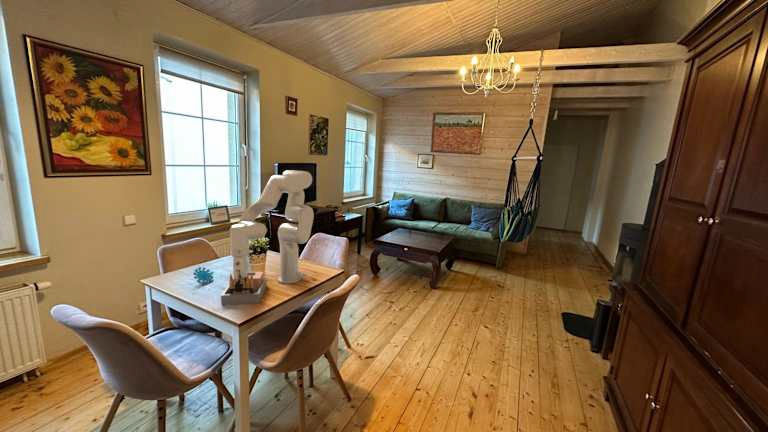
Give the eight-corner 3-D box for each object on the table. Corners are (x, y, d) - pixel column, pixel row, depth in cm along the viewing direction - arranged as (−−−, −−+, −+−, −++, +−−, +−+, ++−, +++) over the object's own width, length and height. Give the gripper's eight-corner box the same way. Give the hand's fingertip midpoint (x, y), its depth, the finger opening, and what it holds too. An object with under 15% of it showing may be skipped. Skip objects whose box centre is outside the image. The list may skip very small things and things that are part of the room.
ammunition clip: (229, 299, 140) (227, 274, 138) (230, 297, 142) (229, 272, 139) (254, 298, 142) (253, 274, 140) (255, 296, 144) (254, 272, 141)
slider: (260, 289, 151) (259, 276, 149) (231, 290, 148) (230, 277, 147) (263, 282, 159) (263, 269, 158) (236, 283, 157) (235, 270, 155)
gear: (200, 284, 154) (191, 268, 156) (193, 290, 155) (185, 274, 158) (219, 279, 164) (210, 264, 166) (213, 286, 166) (204, 270, 168)
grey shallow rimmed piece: (259, 303, 141) (258, 293, 140) (221, 304, 138) (220, 295, 137) (266, 285, 160) (266, 277, 159) (233, 286, 157) (233, 278, 156)
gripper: (244, 257, 130) (246, 295, 133) (253, 246, 147) (254, 279, 150) (225, 258, 129) (227, 296, 132) (236, 246, 145) (237, 280, 148)
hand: (241, 287), depth 141 cm, fingers open, 9 cm apart
